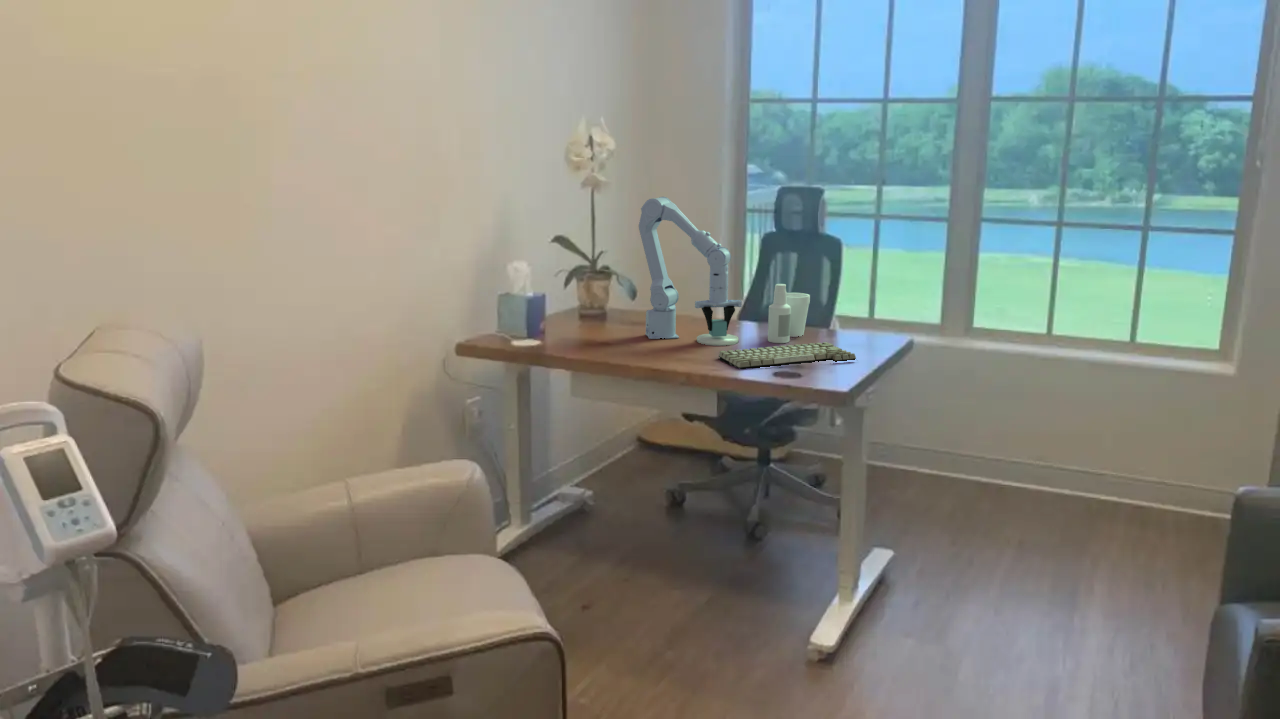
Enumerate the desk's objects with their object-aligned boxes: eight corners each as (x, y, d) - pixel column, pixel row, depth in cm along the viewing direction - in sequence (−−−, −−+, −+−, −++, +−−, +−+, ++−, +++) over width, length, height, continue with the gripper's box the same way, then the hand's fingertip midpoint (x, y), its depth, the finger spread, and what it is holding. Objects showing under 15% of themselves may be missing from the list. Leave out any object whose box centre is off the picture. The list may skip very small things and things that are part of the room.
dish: (702, 346, 311) (702, 342, 311) (692, 337, 323) (692, 334, 323) (743, 344, 313) (743, 341, 313) (732, 336, 326) (732, 332, 325)
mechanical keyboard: (742, 374, 279) (743, 362, 278) (713, 360, 297) (714, 349, 296) (860, 364, 292) (861, 352, 291) (826, 351, 310) (826, 340, 309)
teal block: (712, 336, 315) (712, 322, 314) (709, 333, 320) (709, 319, 319) (726, 336, 316) (726, 321, 315) (722, 333, 320) (723, 319, 319)
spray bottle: (788, 344, 315) (791, 286, 311) (766, 343, 316) (768, 285, 312) (790, 339, 321) (792, 283, 317) (768, 338, 323) (770, 282, 319)
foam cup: (809, 337, 324) (811, 297, 321) (780, 337, 324) (782, 297, 321) (805, 331, 333) (807, 292, 330) (777, 331, 334) (779, 292, 331)
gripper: (699, 289, 309) (698, 333, 312) (744, 288, 312) (743, 331, 315) (693, 286, 316) (692, 328, 319) (738, 284, 319) (737, 327, 322)
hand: (717, 330), depth 318 cm, fingers closed on teal block, 4 cm apart
